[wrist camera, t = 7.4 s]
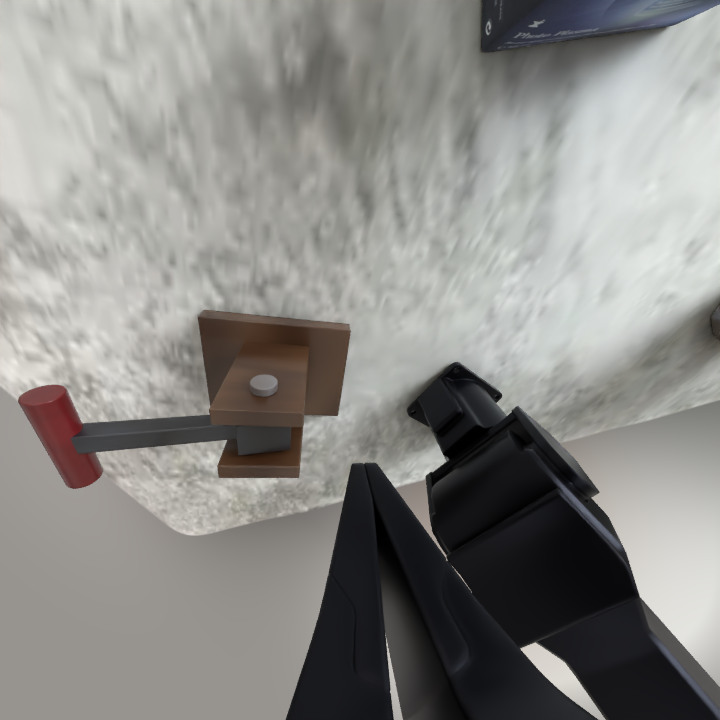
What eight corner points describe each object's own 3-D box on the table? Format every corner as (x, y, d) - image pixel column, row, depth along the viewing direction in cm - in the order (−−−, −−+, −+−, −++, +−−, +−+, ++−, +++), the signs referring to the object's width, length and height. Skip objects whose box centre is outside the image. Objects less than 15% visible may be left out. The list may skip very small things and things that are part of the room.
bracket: (215, 401, 23) (168, 495, 16) (203, 309, 19) (133, 379, 12) (337, 407, 25) (343, 493, 18) (349, 323, 21) (363, 392, 14)
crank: (80, 460, 15) (53, 500, 14) (39, 378, 13) (-2, 414, 11) (286, 439, 19) (289, 468, 17) (289, 372, 16) (292, 397, 14)
